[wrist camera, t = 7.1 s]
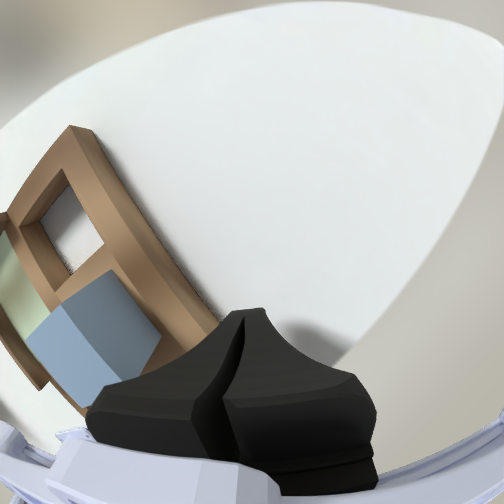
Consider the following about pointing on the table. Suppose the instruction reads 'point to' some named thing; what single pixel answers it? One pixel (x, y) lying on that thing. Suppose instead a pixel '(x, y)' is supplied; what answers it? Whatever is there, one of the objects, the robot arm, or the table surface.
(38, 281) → the brown compartment tray
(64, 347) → the slate block
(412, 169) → the table surface
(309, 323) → the table surface
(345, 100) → the table surface
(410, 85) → the table surface
